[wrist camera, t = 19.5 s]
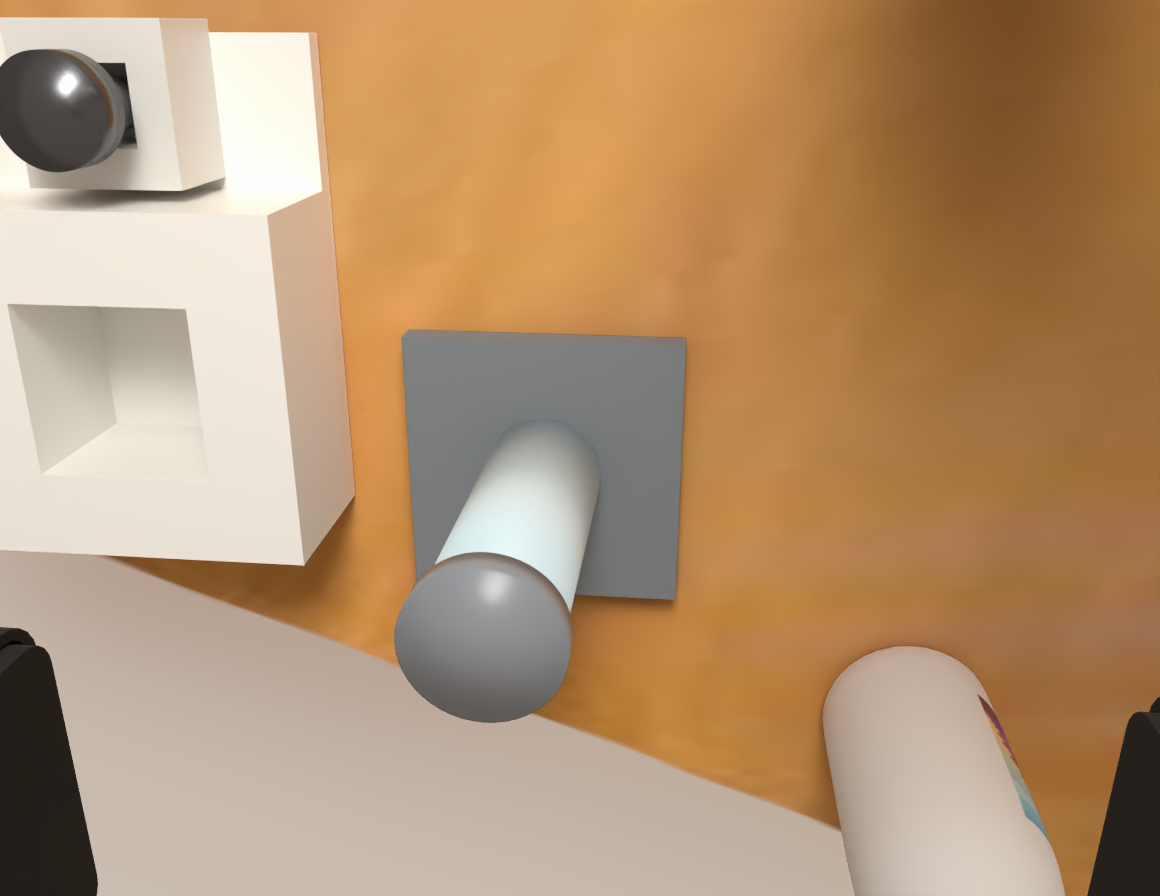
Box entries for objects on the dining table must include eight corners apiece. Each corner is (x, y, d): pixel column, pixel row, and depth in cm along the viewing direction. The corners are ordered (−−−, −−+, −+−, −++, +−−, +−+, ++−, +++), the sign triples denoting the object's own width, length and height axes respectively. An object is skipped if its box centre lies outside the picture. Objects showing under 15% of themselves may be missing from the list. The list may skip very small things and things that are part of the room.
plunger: (82, 45, 42) (-22, 49, 36) (180, 46, 41) (92, 49, 35) (99, 151, 43) (2, 171, 37) (194, 152, 43) (112, 173, 37)
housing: (-20, 18, 43) (-146, 17, 37) (315, 18, 42) (246, 17, 35) (69, 481, 51) (-23, 548, 44) (355, 494, 49) (304, 565, 43)
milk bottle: (794, 743, 52) (848, 1139, 33) (863, 616, 49) (964, 974, 31) (939, 796, 52) (1073, 1218, 34) (1016, 673, 49) (1209, 1062, 31)
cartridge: (459, 489, 47) (365, 667, 34) (520, 389, 45) (444, 537, 32) (567, 552, 48) (514, 750, 35) (632, 455, 46) (602, 628, 33)
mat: (408, 329, 46) (401, 337, 45) (686, 337, 45) (685, 345, 44) (423, 573, 51) (417, 586, 49) (675, 586, 49) (675, 599, 48)
